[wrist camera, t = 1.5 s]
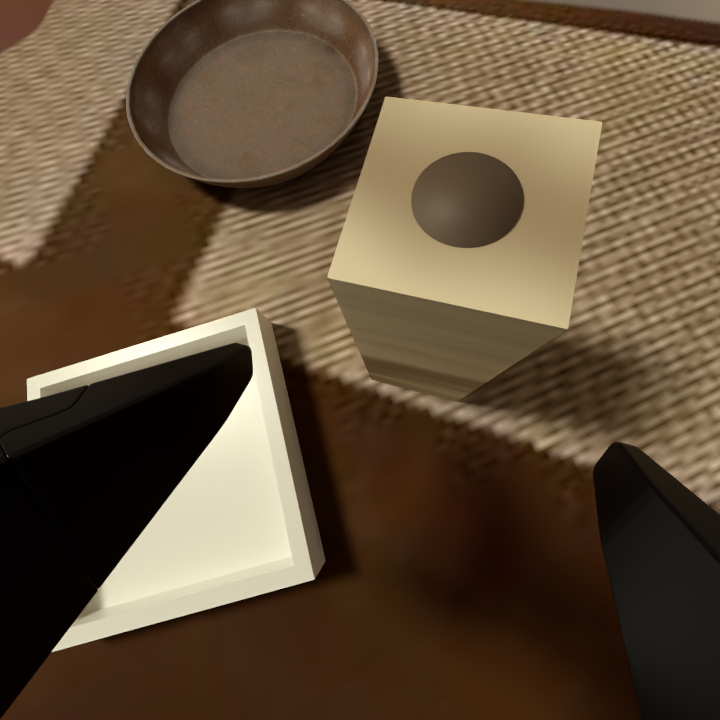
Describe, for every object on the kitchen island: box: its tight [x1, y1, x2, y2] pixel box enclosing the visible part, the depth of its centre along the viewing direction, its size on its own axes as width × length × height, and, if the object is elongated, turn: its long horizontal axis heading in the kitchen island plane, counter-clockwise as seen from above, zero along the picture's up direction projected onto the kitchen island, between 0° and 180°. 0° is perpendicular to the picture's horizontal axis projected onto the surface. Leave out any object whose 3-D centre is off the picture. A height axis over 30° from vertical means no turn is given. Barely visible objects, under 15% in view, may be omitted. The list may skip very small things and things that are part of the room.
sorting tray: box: [27, 308, 326, 652], centre depth 19 cm, size 14×14×2 cm
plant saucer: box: [126, 0, 379, 188], centre depth 24 cm, size 18×18×3 cm
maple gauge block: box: [327, 96, 602, 402], centre depth 14 cm, size 5×5×13 cm
